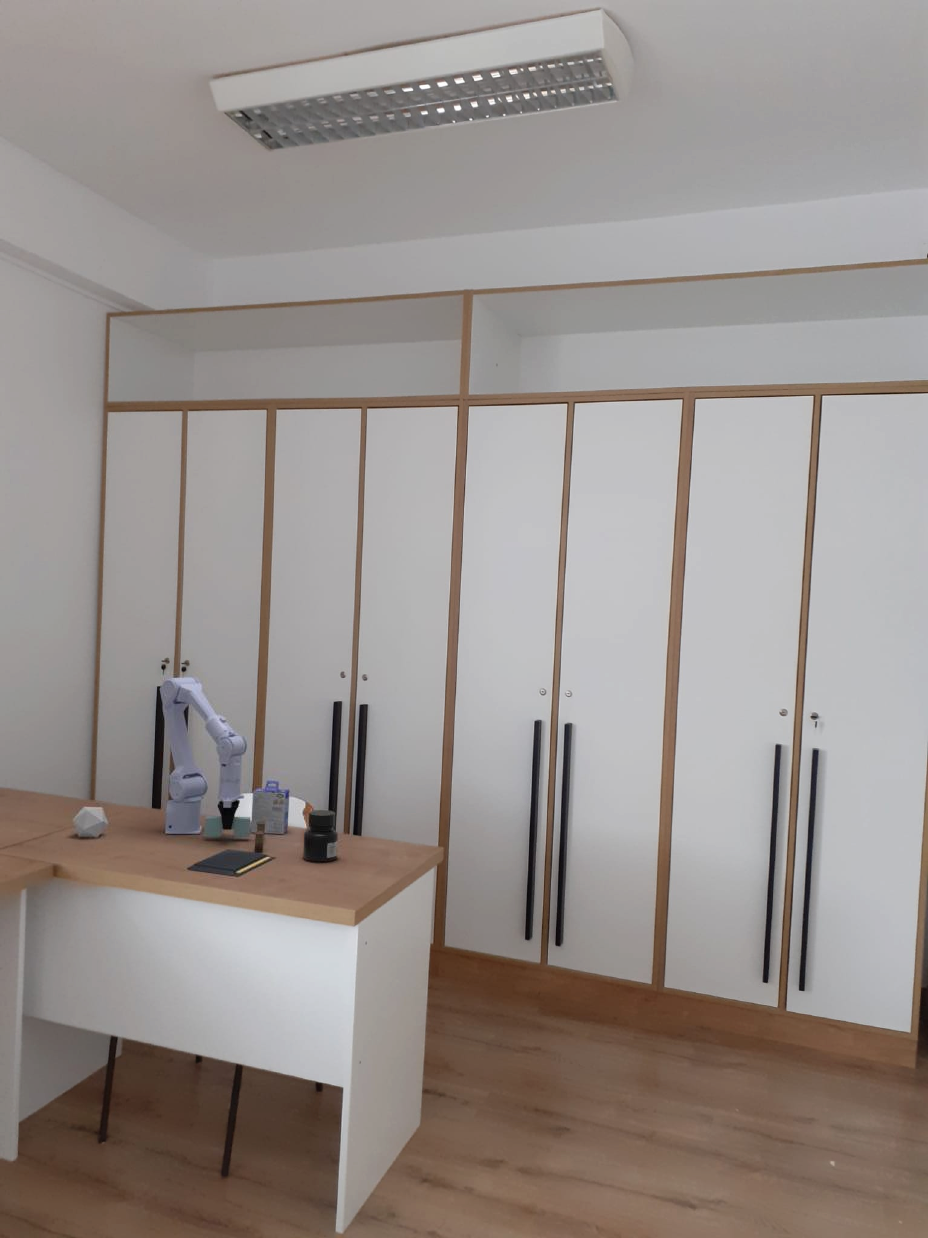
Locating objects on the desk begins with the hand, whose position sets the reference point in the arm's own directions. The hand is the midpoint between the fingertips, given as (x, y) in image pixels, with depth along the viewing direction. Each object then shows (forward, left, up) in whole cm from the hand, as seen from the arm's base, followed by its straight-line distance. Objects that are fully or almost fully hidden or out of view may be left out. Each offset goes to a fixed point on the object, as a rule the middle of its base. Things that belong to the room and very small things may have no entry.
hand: (227, 828), depth 261 cm
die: (-37, +4, -4) cm, 37 cm away
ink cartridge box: (+11, +10, -4) cm, 15 cm away
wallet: (+3, -24, -4) cm, 25 cm away
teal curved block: (0, 0, -2) cm, 2 cm away
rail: (+9, -6, -3) cm, 11 cm away
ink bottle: (+25, -19, -4) cm, 32 cm away
